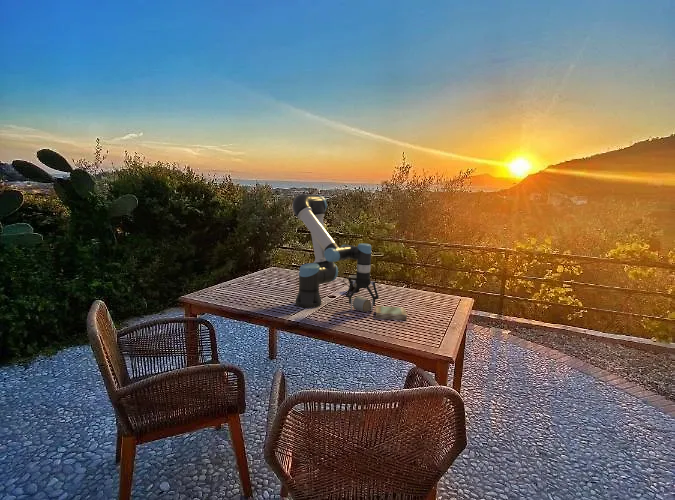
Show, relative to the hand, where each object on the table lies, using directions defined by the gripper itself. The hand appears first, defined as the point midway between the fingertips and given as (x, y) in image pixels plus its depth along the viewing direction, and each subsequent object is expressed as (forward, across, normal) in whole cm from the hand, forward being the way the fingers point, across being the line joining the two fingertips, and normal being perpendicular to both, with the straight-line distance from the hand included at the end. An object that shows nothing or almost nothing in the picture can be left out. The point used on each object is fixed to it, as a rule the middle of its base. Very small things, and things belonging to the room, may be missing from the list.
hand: (361, 309), depth 211 cm
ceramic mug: (+1, +1, +1) cm, 2 cm away
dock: (0, +16, -6) cm, 17 cm away
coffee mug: (0, -7, +41) cm, 42 cm away
